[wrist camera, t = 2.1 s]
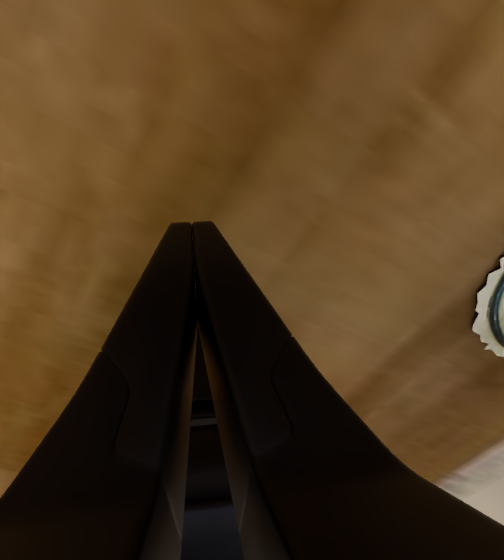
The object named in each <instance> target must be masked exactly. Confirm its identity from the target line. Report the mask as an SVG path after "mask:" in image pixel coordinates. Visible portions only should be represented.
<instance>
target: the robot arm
mask: <svg viewBox="0 0 504 560" xmlns="http://www.w3.org/2000/svg"><path fill="white" fill-rule="evenodd" d="M192 236H193V240H192ZM193 253H194V256H193ZM194 269H195V273H194ZM195 286H196V290H195ZM291 336H292V334H291V333H290V331H289V330H288V328H287V327H286V325H285V324H284V323H283V321H282V320H281V318H280V317H279V315H278V314H277V313H276V311H275V310H274V308H273V307H272V305H271V304H270V303H269V301H268V300H267V298H266V297H265V295H264V294H263V293H262V291H261V290H260V288H259V287H258V286H257V284H256V283H255V281H254V280H253V278H252V277H251V276H250V274H249V273H248V271H247V270H246V268H245V267H244V266H243V264H242V263H241V261H240V260H239V258H238V257H237V256H236V254H235V253H234V251H233V250H232V249H231V247H230V246H229V244H228V243H227V241H226V240H225V239H224V237H223V236H222V234H221V233H220V231H219V230H218V229H217V227H216V226H215V224H214V223H213V222H211V221H201V222H194V223H193V224H192V225H191V223H189V222H178V223H171V224H170V225H169V227H168V229H167V230H166V232H165V234H164V236H163V238H162V239H161V241H160V243H159V245H158V247H157V248H156V250H155V252H154V254H153V256H152V257H151V259H150V261H149V263H148V265H147V267H146V268H145V270H144V272H143V274H142V276H141V277H140V279H139V281H138V283H137V285H136V286H135V288H134V290H133V292H132V294H131V296H130V297H129V299H128V301H127V303H126V305H125V306H124V308H123V310H122V312H121V314H120V315H119V317H118V319H117V321H116V323H115V325H114V326H113V328H112V330H111V332H110V334H109V335H108V337H107V339H106V341H105V343H104V344H103V346H102V348H101V350H102V352H99V353H98V355H97V357H96V359H95V360H94V362H93V364H92V366H91V368H90V369H89V371H88V373H87V374H86V376H85V378H84V379H83V381H82V383H81V384H80V386H79V388H78V390H77V391H76V393H75V394H74V396H73V397H72V399H71V400H70V402H69V403H68V405H67V406H66V408H65V409H64V411H63V412H62V414H61V415H60V416H59V418H58V419H57V421H56V422H55V424H54V425H53V426H52V428H51V429H50V431H49V432H48V433H47V435H46V436H45V437H44V439H43V440H42V442H41V443H40V444H39V446H38V447H37V449H36V450H35V451H34V453H33V454H32V456H31V457H30V458H29V460H28V461H27V462H26V464H25V465H24V467H23V468H22V469H21V471H20V472H19V474H18V475H17V476H16V478H15V479H14V481H13V482H12V483H11V485H10V486H9V487H8V489H7V490H6V491H5V493H4V494H3V495H2V497H1V498H0V560H504V526H503V525H502V524H500V523H498V522H497V521H495V520H493V519H491V518H490V517H488V516H486V515H484V514H483V513H481V512H479V511H478V510H476V509H475V508H473V507H471V506H470V505H468V504H466V503H464V502H463V501H461V500H459V499H458V498H456V497H454V496H453V495H451V494H449V493H448V492H446V491H444V490H442V489H441V488H439V487H437V486H436V485H434V484H432V483H431V482H429V481H427V480H426V479H424V478H422V477H421V476H419V475H418V474H416V473H415V472H414V471H412V470H411V469H410V468H408V467H407V466H406V465H405V464H404V463H402V462H401V461H400V460H399V459H398V458H397V457H396V456H395V455H394V454H393V453H392V452H391V451H390V450H389V449H388V448H387V447H386V446H385V445H384V444H383V443H382V442H381V441H380V439H379V438H378V437H377V436H376V435H375V434H374V433H373V432H372V431H371V430H370V428H369V427H368V426H367V425H366V424H365V423H364V422H363V421H362V420H361V418H360V417H359V416H358V415H357V414H356V413H355V412H354V411H353V410H352V409H351V407H350V406H349V405H348V404H347V403H346V402H345V401H344V400H343V399H342V397H341V396H340V395H339V394H338V393H337V392H336V391H335V390H334V388H333V387H332V386H331V385H330V384H329V383H328V381H327V380H326V379H325V378H324V377H323V376H322V374H321V373H320V372H319V371H318V369H317V368H316V367H315V365H314V364H313V363H312V361H311V360H310V359H309V357H308V356H307V355H306V353H305V352H304V351H303V349H302V348H301V346H300V345H299V344H298V342H297V341H296V339H295V338H294V337H291Z"/></svg>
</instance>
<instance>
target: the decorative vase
mask: <svg viewBox="0 0 504 560" xmlns="http://www.w3.org/2000/svg"><path fill="white" fill-rule="evenodd" d="M500 265H501V268H500V269H498V270H496V271H494V272H492V273H490V274H488V280H487V285H486V286H485V287H484V288H483V289H482V290H481V291H480V292H479V293H478V294H477V297H478V304H477V307H476V309H475V311H477V312H478V313H479V315H478V317H477V318H476V320H475V322H474V324H473V329H472V331H474V332H475V333H477V334H479V335H480V339H481V342H484V343H487V344H488V345H487V346H486V348H485V349H484V350H488V349H492V351H493V352H494V353H495V354H496V356H501V357H504V257H503V258H501V259H500Z"/></svg>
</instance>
